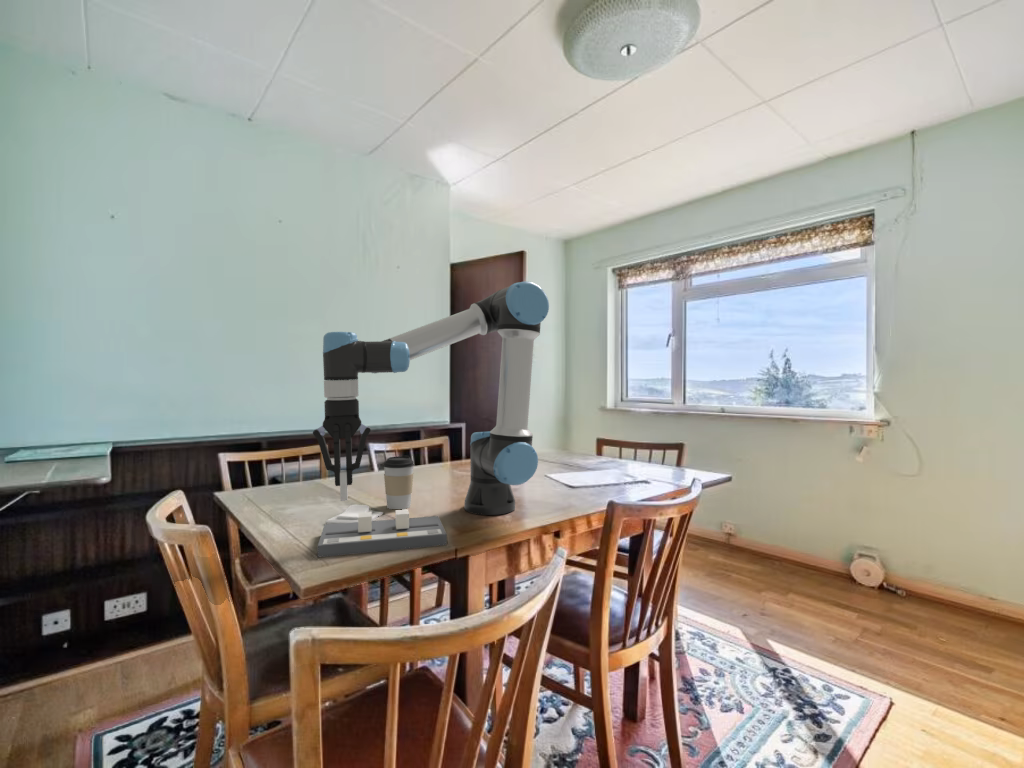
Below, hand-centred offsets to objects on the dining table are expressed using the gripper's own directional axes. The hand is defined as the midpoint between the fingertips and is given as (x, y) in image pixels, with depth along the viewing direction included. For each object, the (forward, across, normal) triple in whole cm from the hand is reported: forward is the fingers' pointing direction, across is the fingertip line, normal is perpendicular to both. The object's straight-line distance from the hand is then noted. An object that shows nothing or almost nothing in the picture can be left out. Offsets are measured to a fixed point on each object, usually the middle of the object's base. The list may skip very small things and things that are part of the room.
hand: (344, 499), depth 111 cm
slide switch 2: (+8, -13, 0) cm, 15 cm away
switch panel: (+11, -9, 0) cm, 14 cm away
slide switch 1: (+8, -4, 0) cm, 9 cm away
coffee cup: (+11, -14, -28) cm, 33 cm away
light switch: (+11, -2, -19) cm, 22 cm away
